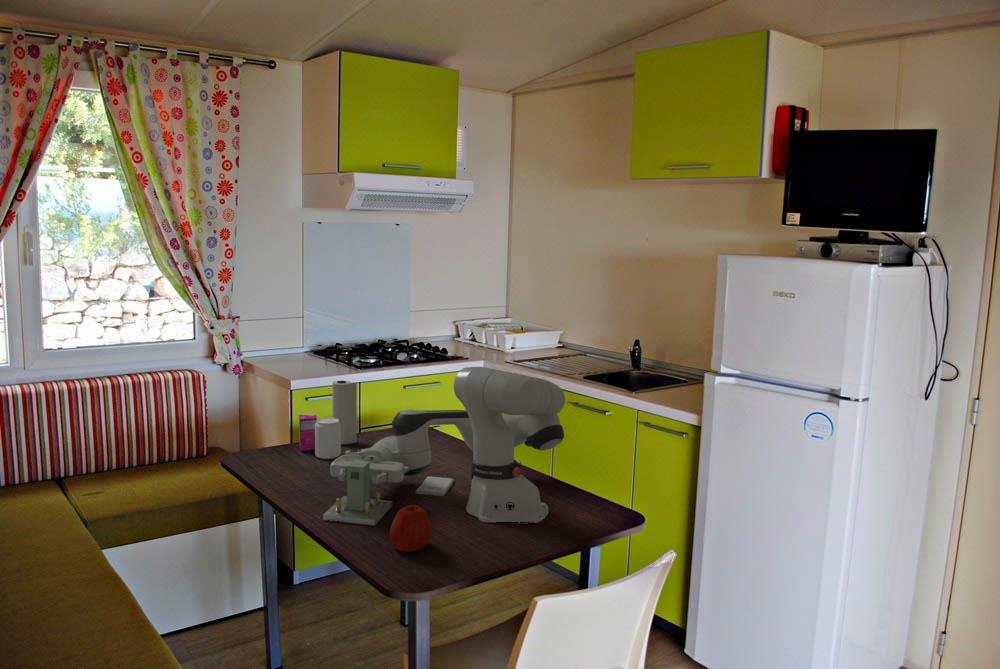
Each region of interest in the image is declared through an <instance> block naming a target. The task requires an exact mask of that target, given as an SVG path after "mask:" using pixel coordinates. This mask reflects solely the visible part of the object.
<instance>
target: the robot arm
mask: <svg viewBox="0 0 1000 669" xmlns="http://www.w3.org/2000/svg"><path fill="white" fill-rule="evenodd" d="M453 391H454V395H455V397H456V398H457V399H458V401H460V403H461V404H462V405H463V407H464V409H448V410H447V409H446V410H445V409H441V410H440V409H438V410H435V409H434V410H418V409H404V410H401V411H399V412H397V413H396V415H395V416H394V417H393V419H392V421H391V426H392V427H391V428H392V431H393V435H390V436H386V437H384V438H381V439H379V440H378V441H377V442H375V443H374V444H373V445H372V446H371V447H367V448H361V449H348V450H346V451H345V452H344V454H341V455H340V456H338V457H336V458H334V460H333V461H332V462H331V463H330V467H329V470H330V471H329V472H330V476H331V477H332V478H333V477H334V478H338V481H341V482H345V481H347V465H349V464H350V463H351V462H352V461H354V460H358V461H368V462H370V481H372V483H371V484H372V485H379V484H380V483H394V484H395V483H396V484H398V483H401V482H402V481H403V479H404V478H405V476H406V477H409V476H410V477H411V476H416V475H419V474H421V473H424V472H425V470H427V469H428V468H429V467H430V465H431V464H432V454H431V446H430V441H429V427H430V426H442V425H443V426H445V425H446V426H447V425H449V426H451V425H453V426H455V427H456V429H457V430H458V431H459V433H460V435H461V437H462V439H463V442H465V445H466V446H467V447H468V448H469V449H470V451H472V452H473V454H472V455H473V456H472V459H471V463H470V476H471V477H470V479H471V484H470V485H471V486H470V491H469V497H468V500H467V504H466V506H465V510H466V512H467V513H468V514H469V515H471V516H473V517H476V518H477V519H478V520H479V521H481V522H482V523H496V522H518V523H517V524H521V523H520V522H531V523H532V522H534V523H537V522H540V521H542V520H543V519H545V517H546V516H547V514H548V515H549V507H548V504H546V503H545V502H542V501H541V499H542V498H541V496H540V495H541V494H540V490H539V488H538V486H536V485H535V484H534V483H533V482H532V481H530V480H529V479H527V477H526V476H524V475H523V474H522V461H519V462H518V461H517V460H516V459H515V448H516V447H518V446H520V445H522V444H524V445H525V446H526V447H531V448H533V449H535V450H536V451H537V450H538V451H547V450H551V449H553V448H555V447H557V446H558V445H560V444H561V443H562V441H563V440H564V438H565V433H564V427H563V426H562V425H561V421H560V418H559V416H558V414H559V413H560V412H561V411H562V410H563V409H564V406H565V404H566V396H565V392H564V390H563V389H562V388H561V387H560V385H558V384H555V383H554V382H552V381H549V380H548V379H544V378H541V377H540V378H539V377H534V376H529V375H525V374H520V373H515V372H510V371H505V370H500V369H494V368H490V367H484V366H468V367H463V368H462V369H460V370H459V371H458V373H457V374H456V376H455V379H454V381H453ZM547 517H548V516H547ZM547 517H546V518H547ZM545 520H546V519H545ZM542 522H543V521H542ZM540 523H541V522H540ZM537 524H538V523H537Z"/></svg>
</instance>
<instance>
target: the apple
mask: <svg viewBox="0 0 1000 669" xmlns="http://www.w3.org/2000/svg"><path fill="white" fill-rule="evenodd" d="M389 528H390V529H389V538H390V542H391V543H392V545H393V548H394V549H395V550H396V551H399V552H403V553H412V552H417V551H420V550H422V549H424V548H425V547H426V546H427V545H428V543H429V542H430V540H431V537H432V534H433V525H432V521H431V518H430V516H429V515H428V512H426V511H425V509H424V508H423V507H422V506H420V505H418V504H410V505H405V506H403V507H402V508H400V509H399V510H398V512H396V515H395V517H394V518H393V520H392V523H391V526H390V527H389Z"/></svg>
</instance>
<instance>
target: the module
mask: <svg viewBox="0 0 1000 669" xmlns="http://www.w3.org/2000/svg"><path fill="white" fill-rule="evenodd" d="M370 494H371V480H370V462H368V461H358V460H354V461H352V462H351V463H350V464H349V465H347V478H346V496H347V509H348V510H357V511H364V510H365V502H366V501H369V502H370V499H371V495H370Z"/></svg>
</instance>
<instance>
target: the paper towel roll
mask: <svg viewBox="0 0 1000 669" xmlns="http://www.w3.org/2000/svg"><path fill="white" fill-rule="evenodd" d="M357 384H358V383H357V382H351V381H349V380H336V381H335V380H334V381H332V384H331V385H332V388H331V390H332V394H331V395H332V418H337V419H339V422H340V424H341V445H349V444H353V443H355V444H356V443H357V440H358V439H357V436H358V435H357V432H358V431H357V428H358V427H357V424H358V423H357V421H358V420H357V419H358V416H357V414H358V413H357V412H358V411H357V409H358V406H357V405H358V404H357V403H358V399H357V398H358V395H357V394H358V392H357V391H358V390H357V389H358V386H357Z"/></svg>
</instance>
